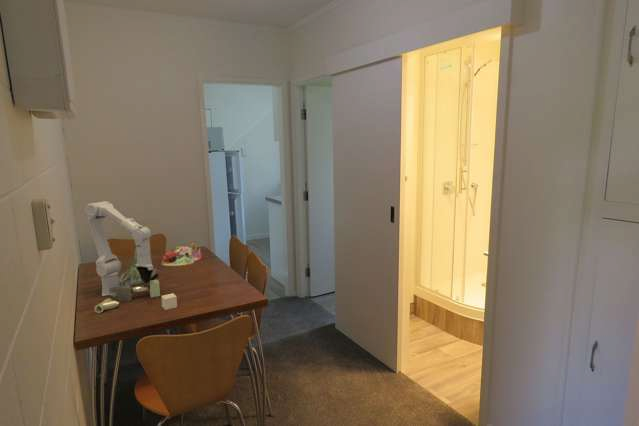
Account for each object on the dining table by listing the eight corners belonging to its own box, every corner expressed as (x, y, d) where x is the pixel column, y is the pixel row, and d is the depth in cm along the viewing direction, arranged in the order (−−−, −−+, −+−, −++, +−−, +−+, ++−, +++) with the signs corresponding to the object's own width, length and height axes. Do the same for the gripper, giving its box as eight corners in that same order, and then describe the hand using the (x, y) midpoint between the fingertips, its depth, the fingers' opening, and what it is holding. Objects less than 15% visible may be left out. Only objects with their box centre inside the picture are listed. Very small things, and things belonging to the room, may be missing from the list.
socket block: (149, 293, 186) (148, 280, 185) (158, 292, 188) (157, 279, 187) (150, 297, 181) (149, 284, 180) (160, 295, 183) (159, 283, 182)
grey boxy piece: (110, 300, 178) (109, 287, 177) (131, 297, 182) (130, 284, 181) (110, 304, 173) (109, 291, 172) (131, 300, 177) (130, 287, 176)
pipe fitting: (120, 307, 172) (105, 305, 172) (120, 298, 171) (105, 297, 171) (110, 314, 164) (94, 313, 164) (110, 305, 163) (94, 304, 163)
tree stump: (105, 284, 202) (109, 247, 204) (141, 282, 220) (144, 248, 222) (128, 288, 193) (132, 250, 194) (164, 285, 211) (167, 250, 212)
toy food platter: (163, 257, 252) (162, 243, 250) (201, 254, 259) (200, 240, 257) (160, 268, 228) (159, 252, 227) (202, 264, 235) (201, 249, 234)
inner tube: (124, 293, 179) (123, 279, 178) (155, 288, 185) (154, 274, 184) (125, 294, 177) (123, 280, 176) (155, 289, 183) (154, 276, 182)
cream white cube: (162, 306, 170) (161, 295, 169) (173, 303, 173) (172, 293, 172) (165, 310, 166) (164, 299, 165) (177, 307, 169) (176, 296, 168)
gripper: (128, 252, 182) (131, 280, 184) (140, 258, 172) (143, 287, 174) (144, 249, 187) (146, 277, 189) (156, 255, 177) (159, 283, 179)
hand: (146, 281), depth 182 cm, fingers closed on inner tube, 2 cm apart
